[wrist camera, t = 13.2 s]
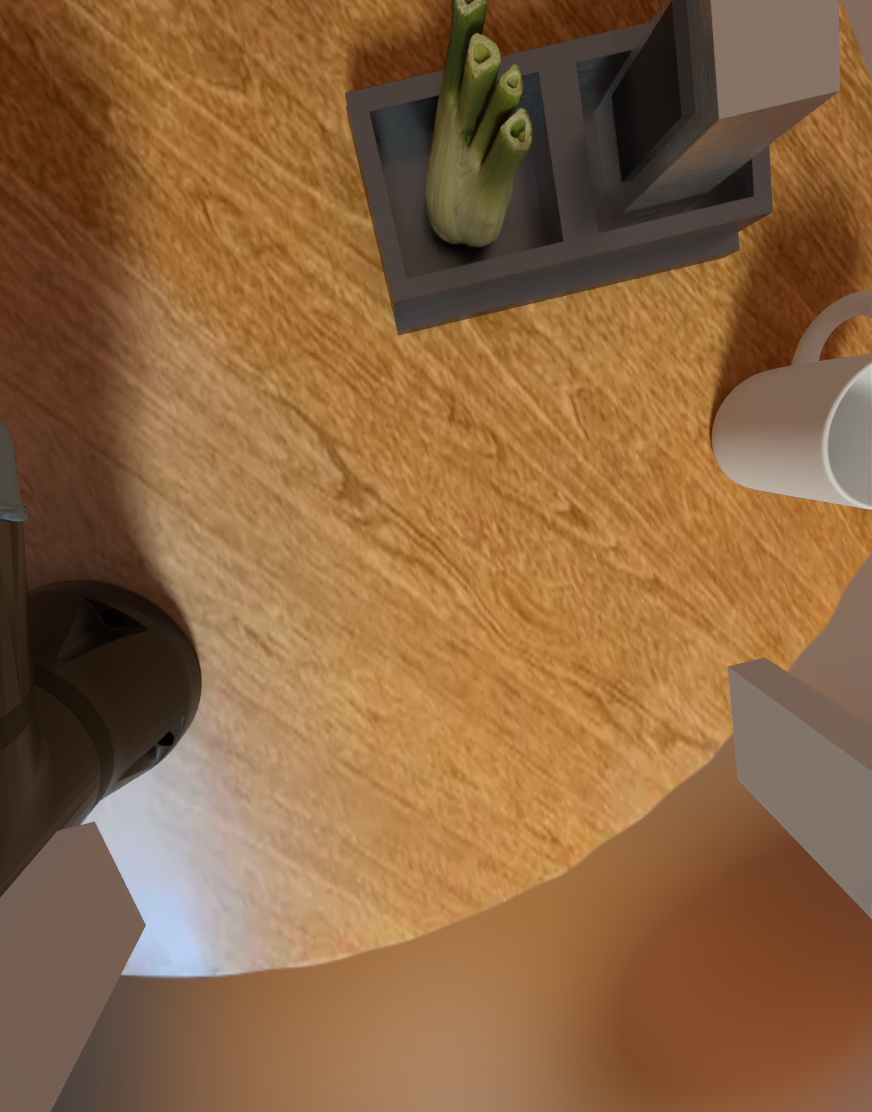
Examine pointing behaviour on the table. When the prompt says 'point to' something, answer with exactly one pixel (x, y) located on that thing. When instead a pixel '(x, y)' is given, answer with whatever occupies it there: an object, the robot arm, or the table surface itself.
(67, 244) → the table surface
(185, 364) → the table surface
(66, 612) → the robot arm
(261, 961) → the table surface
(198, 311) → the table surface
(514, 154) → the fennel bulb
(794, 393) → the mug
